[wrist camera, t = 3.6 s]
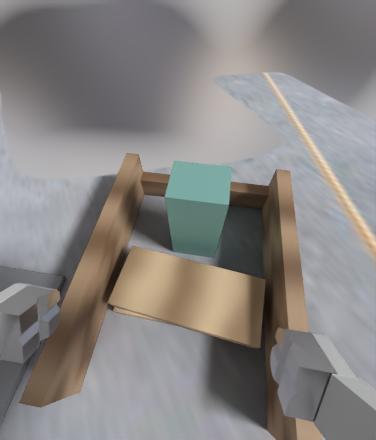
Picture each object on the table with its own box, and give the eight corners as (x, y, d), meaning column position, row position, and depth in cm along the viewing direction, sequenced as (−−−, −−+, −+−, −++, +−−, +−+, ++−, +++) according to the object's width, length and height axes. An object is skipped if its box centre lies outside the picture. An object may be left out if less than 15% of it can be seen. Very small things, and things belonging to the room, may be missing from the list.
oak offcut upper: (259, 284, 23) (265, 279, 21) (253, 348, 20) (259, 348, 18) (136, 252, 25) (132, 245, 23) (113, 306, 22) (107, 302, 20)
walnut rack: (285, 434, 18) (325, 468, 13) (64, 388, 19) (19, 402, 14) (272, 201, 30) (289, 170, 25) (136, 185, 32) (126, 153, 26)
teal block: (217, 228, 28) (231, 167, 18) (214, 257, 26) (228, 205, 16) (179, 223, 28) (174, 160, 19) (173, 251, 26) (164, 197, 17)
